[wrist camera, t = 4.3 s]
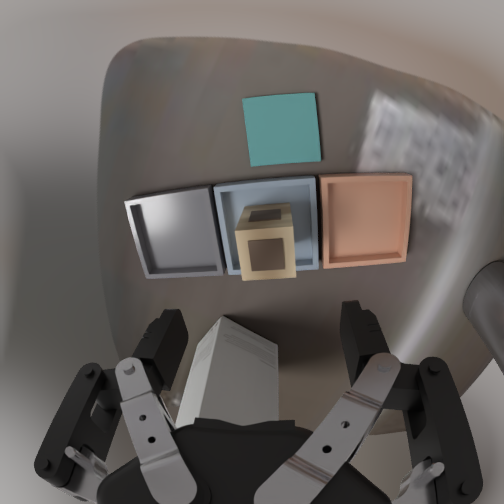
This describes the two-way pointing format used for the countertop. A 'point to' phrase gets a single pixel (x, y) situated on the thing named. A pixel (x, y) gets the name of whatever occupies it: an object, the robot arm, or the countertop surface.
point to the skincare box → (232, 378)
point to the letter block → (266, 242)
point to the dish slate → (270, 192)
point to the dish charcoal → (177, 233)
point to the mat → (282, 129)
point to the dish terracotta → (364, 218)
